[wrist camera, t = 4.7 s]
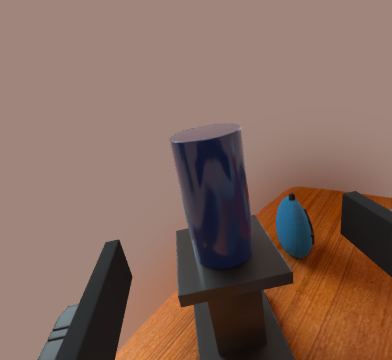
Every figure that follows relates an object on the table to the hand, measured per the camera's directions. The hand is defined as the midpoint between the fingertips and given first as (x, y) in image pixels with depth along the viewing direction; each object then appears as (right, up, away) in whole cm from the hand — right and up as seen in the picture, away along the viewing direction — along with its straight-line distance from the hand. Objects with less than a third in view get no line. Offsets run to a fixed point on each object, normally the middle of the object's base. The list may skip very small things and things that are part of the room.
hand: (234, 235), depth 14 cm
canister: (0, -3, +8) cm, 9 cm away
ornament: (+13, -8, +23) cm, 28 cm away
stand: (+3, -14, +13) cm, 19 cm away
